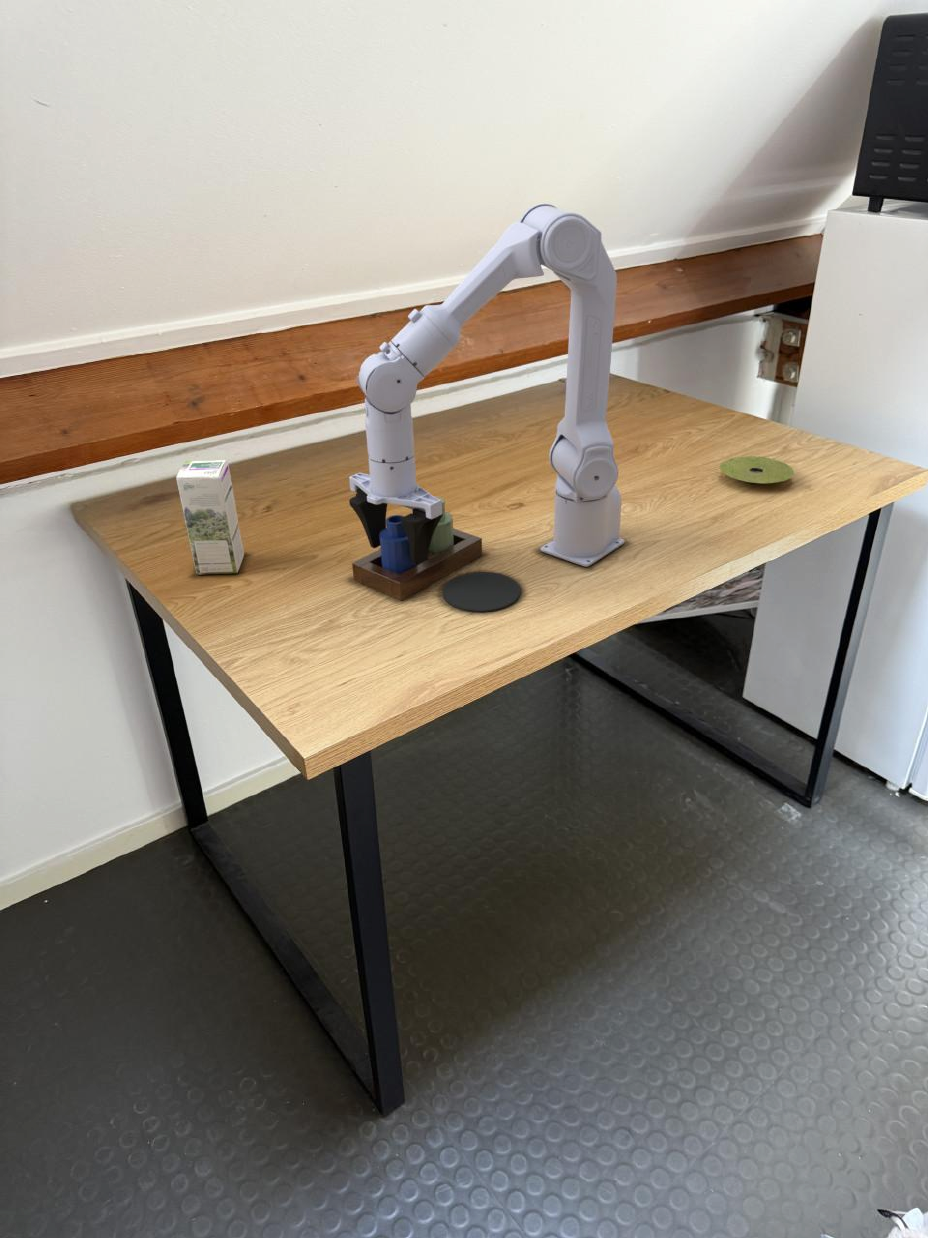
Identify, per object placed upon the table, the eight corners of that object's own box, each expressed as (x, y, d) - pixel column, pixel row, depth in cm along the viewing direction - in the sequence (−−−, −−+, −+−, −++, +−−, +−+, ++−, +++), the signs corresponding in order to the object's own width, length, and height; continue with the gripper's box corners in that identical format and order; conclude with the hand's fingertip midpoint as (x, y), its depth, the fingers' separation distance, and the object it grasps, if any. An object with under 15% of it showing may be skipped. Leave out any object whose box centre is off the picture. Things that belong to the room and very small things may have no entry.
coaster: (477, 566, 122) (477, 564, 122) (536, 589, 117) (536, 587, 116) (426, 595, 116) (426, 593, 116) (486, 621, 110) (486, 618, 110)
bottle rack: (353, 580, 120) (351, 562, 119) (435, 537, 130) (434, 521, 129) (401, 601, 115) (399, 583, 114) (482, 555, 125) (482, 538, 124)
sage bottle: (436, 547, 128) (433, 491, 123) (460, 556, 125) (458, 499, 121) (413, 559, 125) (410, 502, 120) (438, 568, 122) (435, 511, 118)
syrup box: (245, 554, 127) (228, 457, 120) (237, 575, 122) (219, 474, 115) (204, 556, 127) (185, 458, 120) (195, 576, 122) (174, 476, 115)
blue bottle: (400, 566, 123) (396, 508, 119) (425, 576, 121) (421, 517, 116) (376, 579, 120) (370, 520, 116) (401, 589, 118) (396, 530, 113)
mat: (705, 471, 148) (706, 460, 147) (766, 462, 150) (768, 451, 149) (741, 498, 139) (743, 486, 138) (806, 488, 141) (808, 476, 140)
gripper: (327, 451, 113) (338, 548, 120) (411, 478, 105) (417, 581, 112) (368, 435, 118) (376, 530, 125) (452, 460, 109) (455, 560, 116)
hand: (398, 553), depth 118 cm, fingers open, 7 cm apart
